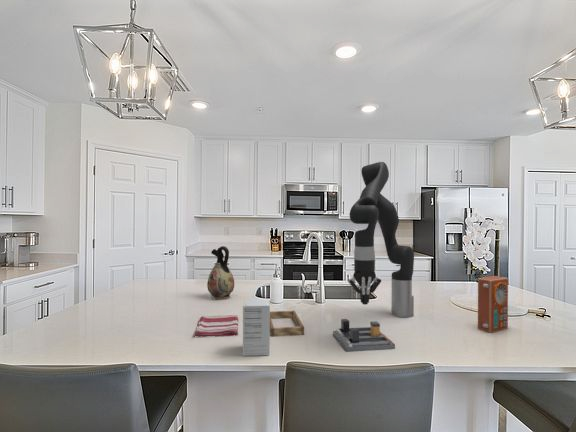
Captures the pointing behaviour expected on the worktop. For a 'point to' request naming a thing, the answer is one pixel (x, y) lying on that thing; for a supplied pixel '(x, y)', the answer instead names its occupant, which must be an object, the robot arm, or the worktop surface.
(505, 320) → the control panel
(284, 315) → the wooden frame
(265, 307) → the supplement box
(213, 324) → the dish towel
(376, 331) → the breaker
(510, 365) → the worktop surface
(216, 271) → the ceramic jug
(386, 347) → the breaker panel
